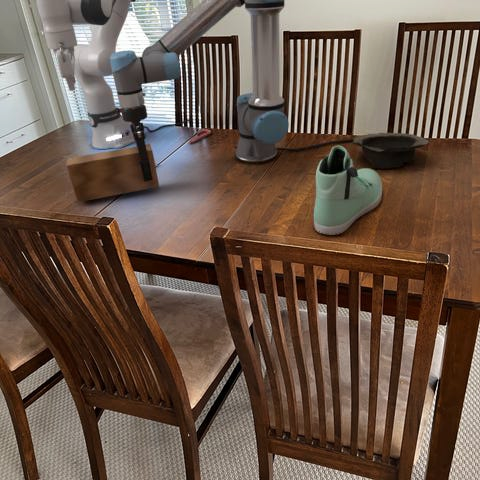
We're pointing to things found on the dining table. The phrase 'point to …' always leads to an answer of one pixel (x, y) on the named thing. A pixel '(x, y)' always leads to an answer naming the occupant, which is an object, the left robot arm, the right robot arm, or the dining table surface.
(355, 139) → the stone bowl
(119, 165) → the box
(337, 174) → the sneaker
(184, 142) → the dining table surface
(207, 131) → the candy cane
